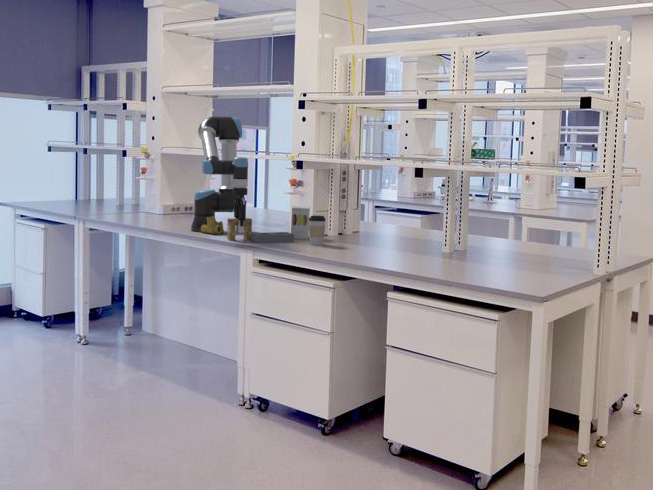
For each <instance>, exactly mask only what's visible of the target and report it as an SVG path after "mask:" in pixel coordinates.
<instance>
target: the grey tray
mask: <svg viewBox="0 0 653 490" xmlns="http://www.w3.org/2000/svg"><path fill="white" fill-rule="evenodd" d="M251 240H252V241H251ZM251 240H250V241H251V242H254V243H257V244H267V243H268V244H269V243H270V244H273V243H274V244H275V243H294V241H295V238H294V234H291V232H288V231H280V232H279V231H277V232H273V231H272V232H267V231H266V232H252V233H251Z"/></svg>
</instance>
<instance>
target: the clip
mask: <svg viewBox="0 0 653 490" xmlns="http://www.w3.org/2000/svg"><path fill="white" fill-rule="evenodd" d="M238 219H239V218H237V219H235V218H227V227H226V228H227V229H226V231H227V233H226V234H227V236H226V238H227V239H228V241H230V240H232V241H236V231H235V227H236V225H238V222H239V220H238ZM252 224H253V219H252V218H251V217H250V218H249V217H246V219H244V233H243V240H244V241H251V233H253V231H252V230H253V229H252V228H253V225H252ZM227 239H226V240H227Z"/></svg>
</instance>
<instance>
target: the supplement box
mask: <svg viewBox="0 0 653 490" xmlns="http://www.w3.org/2000/svg"><path fill="white" fill-rule="evenodd" d="M310 209H311V207H310V206H292V207H291V219H290V220H291V222H290V233H291V234H294V240H295V239H297V240H298V239H299V240H301V239H302V240H308V239H309V238H310V236H309V218H310V212H311V211H310Z"/></svg>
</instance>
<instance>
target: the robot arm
mask: <svg viewBox="0 0 653 490" xmlns="http://www.w3.org/2000/svg"><path fill="white" fill-rule="evenodd" d="M197 133H198V137H199V139H200V140H201V144H202V145H201V146H202V152H203V158H204V159H203V160H202V163H201V169H202V174H203V175H210V176H211V175H217V176H218V175H220V176H221V186H219V188H218V191H216V189H214V188H211V189H210V188H208V189H201V190H196V191H195V193H194V197H193V201H194V208H193V211H194V212H193V213H194V215H193V216H194V217H193V220H192V223H191V226H190V231H193V232H199V233H200V232H201V233H203V232H202V231H201V226H202V225H207V217H211V216H214V218H215V221H217V220H216V213H231V214H232V213H233V217H234V219H237V218H239V219H238V220H239V222H238V225H235V233H236V232H238V233H239V234H242V233H243V234H244V219H246V218H247V215H246V214H247V202H248V201H247V200H246V198H245V196H247V195H248V188H247V187H249V185H248V184H249V183H248V182H249V180H248V175H249V174H248V173H249V172H248V171H249V170H248V169H249V161H248V160H249V159H248V158H247V157H240V156H239V157H238V156H237V146H238V145H237V144H238V143H239V142H240V139H242V138H243V125H242V122H241V120H240V118H238V117H235V116H214V115H213V116H209V117H207V118H205V119H204V120H203V121H202V122H201V123H200V124H199V127H198V131H197ZM216 138H218V142H219V143H220V144H221V160H220V156H219V151H218V146H217V140H216Z"/></svg>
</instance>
